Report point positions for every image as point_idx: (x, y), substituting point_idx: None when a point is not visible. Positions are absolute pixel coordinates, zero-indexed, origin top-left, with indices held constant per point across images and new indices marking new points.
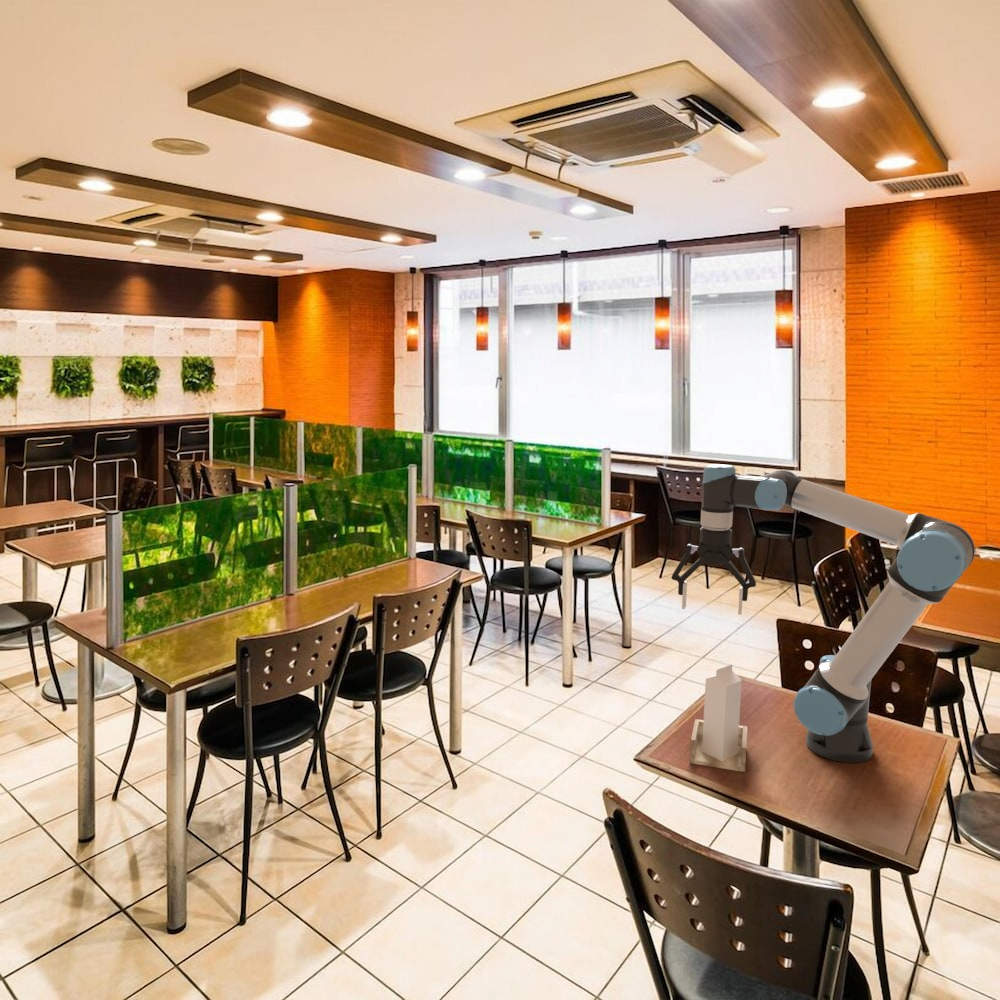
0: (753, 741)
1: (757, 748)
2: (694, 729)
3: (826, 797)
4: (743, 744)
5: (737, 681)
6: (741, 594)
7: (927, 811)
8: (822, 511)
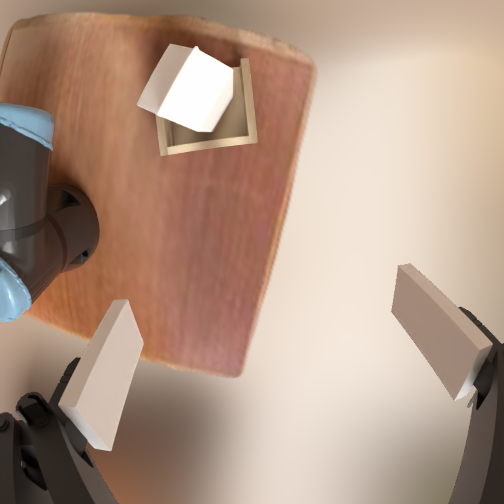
0: (164, 186)
1: (154, 165)
2: (250, 98)
3: (62, 80)
4: None
5: (145, 89)
6: (76, 376)
7: None
8: None
